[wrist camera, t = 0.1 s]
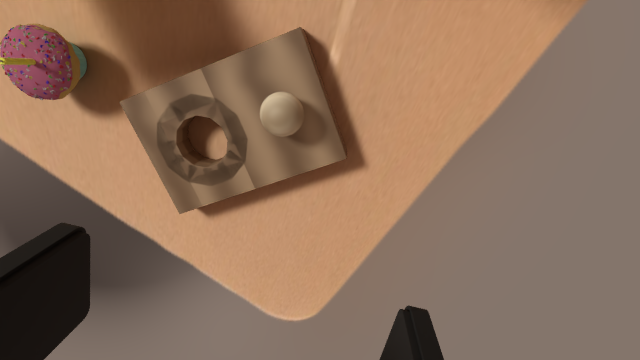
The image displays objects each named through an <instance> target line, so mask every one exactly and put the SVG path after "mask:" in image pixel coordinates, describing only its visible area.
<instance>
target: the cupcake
mask: <svg viewBox="0 0 640 360" xmlns="http://www.w3.org/2000/svg"><path fill="white" fill-rule="evenodd" d="M11 29H12V30H11ZM11 29H10V30H9V32H8V33H7V34H6V35H5V37H4V38H3V40H2V41H1V43H0V44H1V46H0V47H1V48H0V49H1V53H0V54H1V58H0V64H2V65H3V66H2V67H3V69H4V70H5V74H6V75H8V76H9V78H10V80H11V81H12V83H13V84H14V85H16V86H17V87H18V88H19V89H20V90H21V91H23V92H24V93H26V94H27V95H29V96H31V97H34V98H39V99H41V100H43V99H49V100H56V99H62V98H64V97H65V96H66V95H68V94H69V93H70V92H71V91H72V90H73V89H74V88H75V86H76V85H77V83H78V81H79V79H81V78H82V77H83V76H84V74H85V72H86V69H87V62H86V58H85V56H84V54H83V52H82V51H81V50H80V49H79V48H78V47H77V46H76V45H74V44H72V43H70V42H68V41H66V40H65V39H64V38H63V37H62V36H61V35H60V34H59V33H58V32H57V31H56V30H54V29H52V28H49V27H46V26H43V25H40V24H28V25H18V26H16V27H13V28H11Z"/></svg>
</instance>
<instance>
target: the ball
mask: <svg viewBox="0 0 640 360" xmlns="http://www.w3.org/2000/svg"><path fill="white" fill-rule="evenodd" d="M260 119H261V122H262V125H263V126H264V128H265V129H266V130H267V131H268V132H270V133H271V134H273V135H275V136H280V137H285V136H289V135H292V134H294V133H295V132H296V131H298V130H299V128H300V127H301V125H302V123H303V120H304V109H303V106H302V104H301V102H300V101H299V99H298V98H297V97H295V96H294V95H292V94H290V93H287V92H276V93H273V94H271V95H269V96H268V97H267V98H266V99H265V100H264V101H263V103H262V105H261V108H260Z"/></svg>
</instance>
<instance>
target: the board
mask: <svg viewBox="0 0 640 360" xmlns="http://www.w3.org/2000/svg"><path fill="white" fill-rule="evenodd" d="M276 92H287V93H290V94H292V95H294V96H295V97H297V98H298V99H299V101H300V102H301V104H302V106H303V109H304V120H303V123H302V125H301V127H300V128H299V130H298V131H296V132H295V133H294V134H292V135H289V136H285V137H280V136H275V135H273V134H271V133H270V132H268V131H267V130H266V129H265V128H264V126H263V125H262V122H261V119H260V108H261V105H262V103H263V101H264V100H265V99H266V98H267V97H268V96H269V95H271V94H273V93H276ZM120 104H121V106H122V108H123V110H124V111H125V113H126V115H127V117H128V119H129V121H130V123H131V124H132V126H133V128H134V130H135V132H136V134H137V136H138V138H139V139H140V141H141V143H142V145H143V147H144V149H145V151H146V152H147V154H148V156H149V158H150V160H151V162H152V164H153V165H154V167H155V169H156V171H157V173H158V175H159V177H160V178H161V180H162V182H163V184H164V186H165V188H166V190H167V191H168V193H169V195H170V197H171V199H172V201H173V203H174V205H175V206H176V208H177V210H178V212H179V214H181V213H184V212H187V211H190V210H193V209H196V208H200V207H203V206H206V205H209V204H212V203H215V202H218V201H221V200H224V199H227V198H230V197H233V196H236V195H239V194H242V193H245V192H248V191H251V190H254V189H257V188H260V187H263V186H266V185H269V184H272V183H275V182H278V181H281V180H284V179H287V178H290V177H293V176H296V175H299V174H302V173H305V172H308V171H311V170H314V169H317V168H320V167H323V166H326V165H329V164H332V163H335V162H338V161H341V160H344V159H347V151H346V148H345V145H344V142H343V139H342V136H341V134H340V131H339V128H338V125H337V122H336V119H335V117H334V114H333V111H332V108H331V105H330V102H329V100H328V97H327V94H326V91H325V88H324V85H323V83H322V80H321V77H320V74H319V71H318V68H317V66H316V63H315V60H314V57H313V54H312V51H311V49H310V46H309V43H308V40H307V37H306V34H305V32H304V29H302V28H301V27H299V28H297V29H295V30H292V31H290V32H287V33H285V34H282V35H280V36H278V37H275V38H273V39H270V40H268V41H265V42H263V43H261V44H258V45H256V46H253V47H251V48H248V49H246V50H244V51H241V52H239V53H236V54H234V55H231V56H229V57H227V58H224V59H222V60H219V61H217V62H214V63H212V64H210V65H207V66H205V67H202V68H200V69H198V70H195V71H193V72H190V73H188V74H185V75H183V76H181V77H178V78H176V79H173V80H171V81H168V82H166V83H164V84H161V85H159V86H156V87H154V88H151V89H149V90H147V91H144V92H142V93H139V94H137V95H134V96H132V97H130V98H127V99H125V100H122V101H120ZM196 115H197V116H202V117H208V118H211V119H212V120H213V121H215V122H216V123H217V124H218V125H220V126H221V127H222V129H223V131H224V133H225V135H226V138H227V140H228V142H227V153H226V155H225V156H224V157H223V158H220V159H218V160H214V159H209V158H204V157H203V156H201V155H200V154H199V153H197V152H196V151H195V150H194V149H193V147H192V145H191V143H190V141H189V139H188V125H189V124H190V122H191V121H192V119H193V118H194V117H195V116H196Z"/></svg>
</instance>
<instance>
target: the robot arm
mask: <svg viewBox="0 0 640 360" xmlns="http://www.w3.org/2000/svg"><path fill="white" fill-rule="evenodd" d="M89 308H90V236H89V235H88V234H86V231H85V229H84V228H83V227H79V226H75V225H71V224H66V223H60V224H58V225H56V226H54V227H52V228H51V229H49V230H47V231H46V232H44V233H42V234H41V235H39V236H37V237H35V238H34V239H32V240H30V241H29V242H27V243H25V244H24V245H22V246H20V247H18V248H17V249H15V250H13V251H11V252H10V253H8V254H6V255H5V256H3V257H1V258H0V360H44V359H45V358H46V357H47V356H48V355H49V354H50V353H51V352H52V351H53V350H54V349H55V348H56V347H57V346H58V345H59V344H60V343H61V342H62V341H63V339H65V338H66V337H67V336H68V335H69V334H70V333H71V332H72V331H73V330H74V329H75V328H76V327H77V326H78V325H79V324H80V323H81V322H82V321H83V319H84V318H85V317H86V315H87V314H88V311H89ZM380 360H444V358H443V355H442V352H441V349H440V346H439V343H438V340H437V337H436V334H435V331H434V328H433V325H432V321H431V319H430V315H429V313H428V311H427V310H425V309H421V308H416V307H412V306H407V307H406V308H405V310H403V309H400V310H399V312H398V314H397V316H396V319H395V321H394V324H393V327H392V329H391V332H390V335H389V337H388V340H387V342H386V345H385V347H384V350H383V353H382V355H381V358H380Z"/></svg>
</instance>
